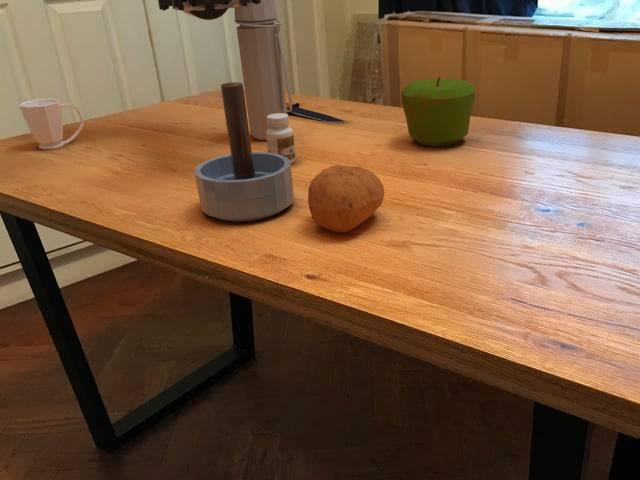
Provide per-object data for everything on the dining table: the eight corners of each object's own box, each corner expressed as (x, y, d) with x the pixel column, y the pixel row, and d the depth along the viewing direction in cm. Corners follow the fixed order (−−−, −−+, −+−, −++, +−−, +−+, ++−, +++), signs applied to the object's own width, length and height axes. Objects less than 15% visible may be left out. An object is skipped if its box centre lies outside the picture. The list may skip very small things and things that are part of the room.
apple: (475, 132, 122) (477, 69, 116) (471, 152, 111) (473, 83, 106) (408, 131, 124) (407, 69, 118) (398, 150, 113) (396, 83, 108)
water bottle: (241, 140, 123) (221, -7, 111) (265, 129, 129) (248, -11, 117) (283, 144, 119) (266, -7, 107) (306, 133, 125) (292, -11, 113)
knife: (336, 134, 130) (352, 124, 133) (334, 121, 129) (351, 111, 132) (249, 110, 144) (266, 101, 147) (246, 98, 142) (263, 90, 145)
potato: (291, 228, 86) (285, 173, 82) (348, 201, 93) (344, 150, 90) (345, 245, 80) (341, 186, 77) (400, 215, 88) (399, 161, 84)
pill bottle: (285, 167, 108) (280, 120, 104) (264, 164, 109) (258, 117, 106) (301, 159, 111) (296, 113, 107) (280, 156, 113) (275, 111, 109)
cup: (27, 145, 124) (14, 102, 121) (82, 135, 130) (71, 93, 126) (35, 153, 119) (22, 109, 116) (92, 143, 124) (81, 99, 121)
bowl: (208, 231, 85) (200, 187, 83) (197, 199, 96) (189, 159, 93) (304, 215, 89) (300, 172, 86) (283, 186, 100) (278, 147, 97)
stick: (239, 206, 91) (222, 87, 83) (236, 199, 93) (219, 83, 85) (260, 203, 92) (244, 85, 84) (256, 196, 94) (240, 81, 86)
